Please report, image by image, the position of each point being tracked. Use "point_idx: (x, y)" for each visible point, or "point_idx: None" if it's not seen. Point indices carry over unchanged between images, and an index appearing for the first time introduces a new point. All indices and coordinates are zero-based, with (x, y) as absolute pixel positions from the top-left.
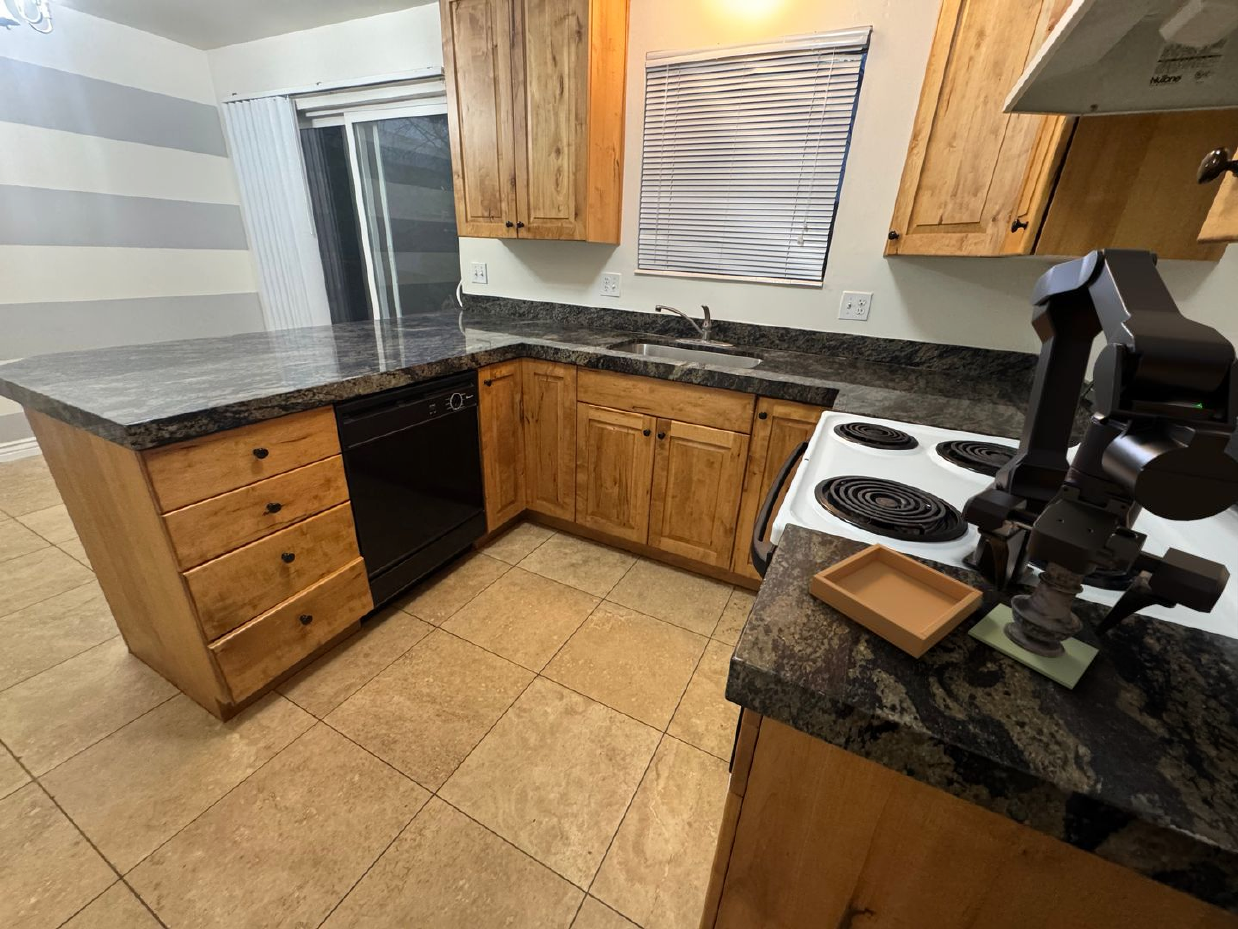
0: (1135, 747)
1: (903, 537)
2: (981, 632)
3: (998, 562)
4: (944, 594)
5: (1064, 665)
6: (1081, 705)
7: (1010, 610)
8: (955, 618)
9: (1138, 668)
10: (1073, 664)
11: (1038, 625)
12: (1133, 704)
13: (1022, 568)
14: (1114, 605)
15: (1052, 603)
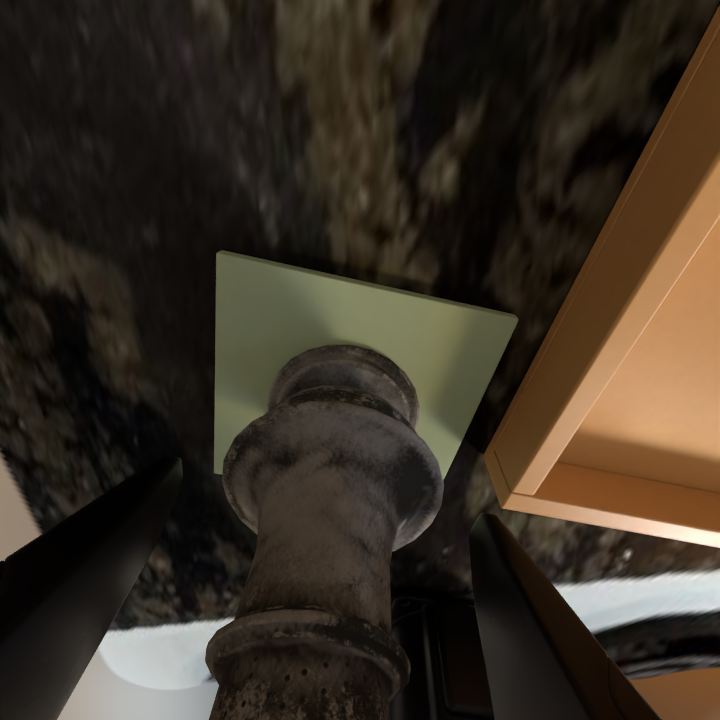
0: (11, 69)
1: (647, 627)
2: (478, 342)
3: (608, 675)
4: (578, 461)
5: (257, 348)
6: (181, 184)
7: None
8: (604, 307)
9: (144, 467)
10: (240, 370)
11: (343, 402)
12: (101, 315)
13: None
14: (47, 630)
15: (317, 523)
